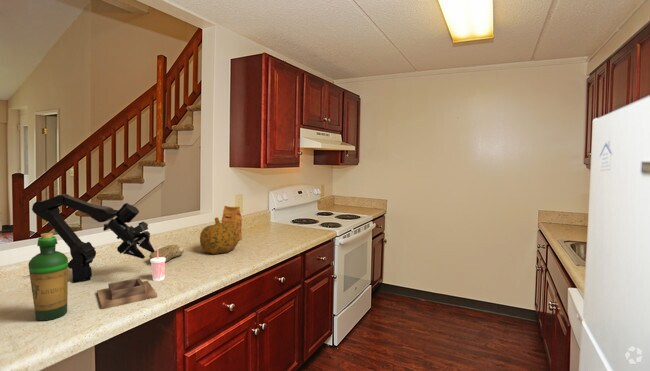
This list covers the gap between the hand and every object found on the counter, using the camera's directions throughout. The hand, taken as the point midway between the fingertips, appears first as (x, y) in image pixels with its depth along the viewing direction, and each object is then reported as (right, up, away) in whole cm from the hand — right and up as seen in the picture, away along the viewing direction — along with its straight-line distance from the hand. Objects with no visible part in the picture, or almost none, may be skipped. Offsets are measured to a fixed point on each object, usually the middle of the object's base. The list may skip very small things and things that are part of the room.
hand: (149, 254), depth 154 cm
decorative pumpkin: (+17, -7, +46) cm, 50 cm away
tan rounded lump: (-6, -9, +29) cm, 31 cm away
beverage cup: (+4, -11, +1) cm, 12 cm away
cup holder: (0, -12, -17) cm, 21 cm away
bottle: (-16, -14, -35) cm, 41 cm away
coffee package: (+16, -5, +73) cm, 75 cm away
